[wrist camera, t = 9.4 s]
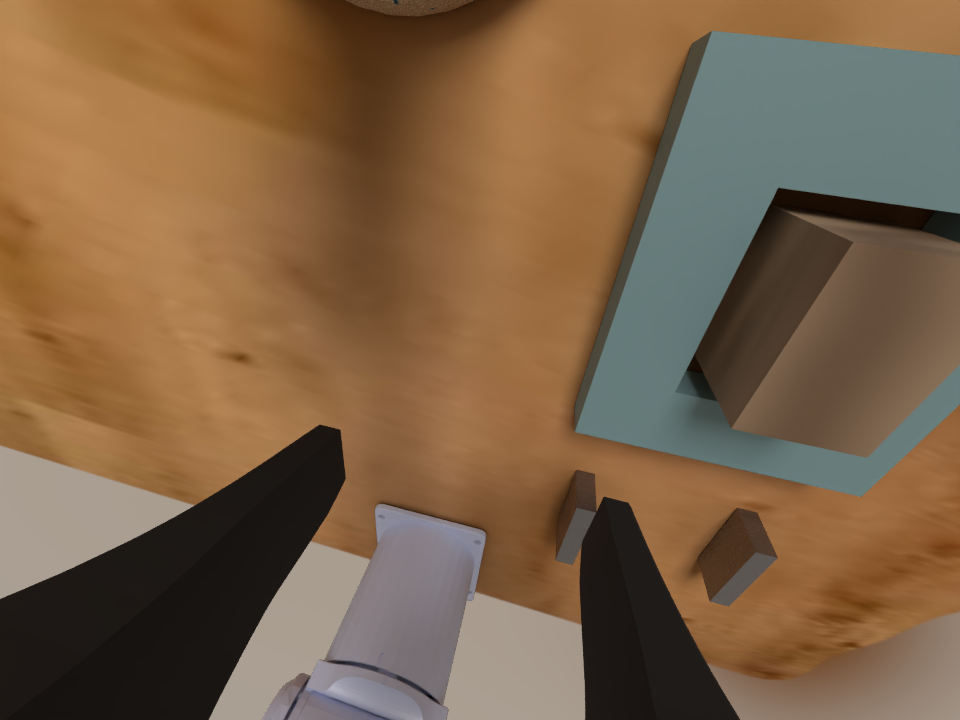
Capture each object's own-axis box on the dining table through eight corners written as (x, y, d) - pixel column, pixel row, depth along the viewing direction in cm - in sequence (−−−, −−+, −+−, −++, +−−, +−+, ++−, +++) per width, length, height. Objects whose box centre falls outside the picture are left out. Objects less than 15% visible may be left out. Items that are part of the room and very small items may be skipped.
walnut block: (894, 221, 12) (1049, 272, 8) (791, 369, 16) (867, 457, 12) (765, 202, 13) (853, 241, 9) (691, 349, 16) (731, 428, 12)
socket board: (834, 461, 18) (861, 496, 16) (574, 404, 19) (574, 432, 17) (1174, 93, 10) (1296, 89, 8) (692, 43, 11) (712, 30, 10)
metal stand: (714, 562, 23) (728, 606, 21) (557, 522, 24) (555, 560, 22) (757, 513, 20) (777, 557, 18) (576, 470, 21) (576, 507, 19)
